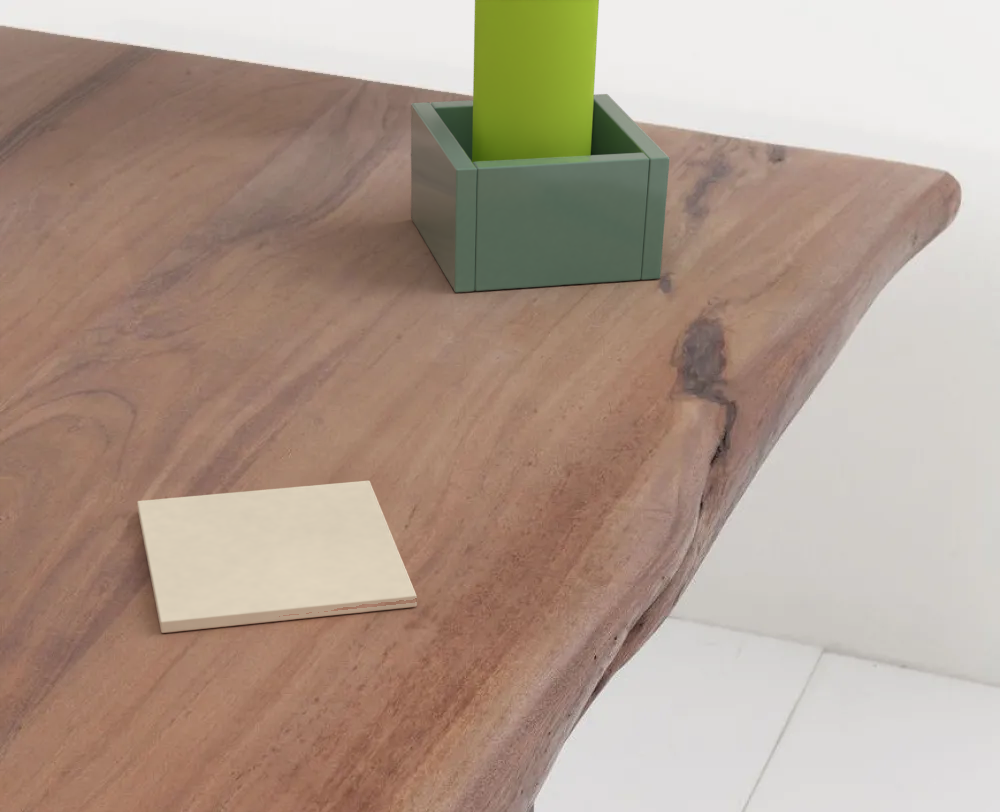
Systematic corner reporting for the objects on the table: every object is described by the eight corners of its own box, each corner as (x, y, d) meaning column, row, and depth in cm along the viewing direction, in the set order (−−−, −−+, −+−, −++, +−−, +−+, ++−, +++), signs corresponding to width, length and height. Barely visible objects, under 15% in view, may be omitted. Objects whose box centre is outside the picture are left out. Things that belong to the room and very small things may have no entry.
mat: (161, 633, 65) (160, 621, 65) (137, 512, 72) (136, 500, 72) (417, 607, 67) (417, 595, 67) (369, 491, 74) (369, 479, 74)
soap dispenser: (502, 278, 92) (515, -172, 81) (454, 230, 98) (459, -198, 86) (612, 265, 94) (640, -177, 82) (559, 219, 99) (578, -203, 88)
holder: (454, 293, 91) (456, 169, 87) (410, 218, 99) (410, 102, 95) (660, 279, 93) (670, 157, 89) (601, 207, 101) (607, 93, 97)
